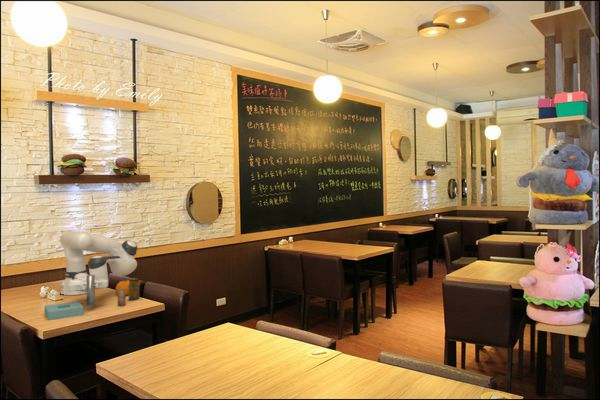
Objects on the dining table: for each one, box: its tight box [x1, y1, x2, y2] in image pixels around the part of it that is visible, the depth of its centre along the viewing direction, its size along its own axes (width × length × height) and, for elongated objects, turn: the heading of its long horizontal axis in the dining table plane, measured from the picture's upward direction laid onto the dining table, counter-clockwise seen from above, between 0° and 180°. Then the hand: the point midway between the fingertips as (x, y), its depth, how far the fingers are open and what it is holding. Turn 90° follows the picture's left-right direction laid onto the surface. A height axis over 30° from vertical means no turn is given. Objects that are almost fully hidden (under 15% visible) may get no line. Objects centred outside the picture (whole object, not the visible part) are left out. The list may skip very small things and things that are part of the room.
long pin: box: [86, 274, 96, 307], centre depth 239 cm, size 4×4×16 cm
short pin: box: [117, 289, 126, 307], centre depth 249 cm, size 4×4×9 cm
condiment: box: [125, 277, 143, 302], centre depth 263 cm, size 7×8×12 cm
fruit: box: [115, 278, 129, 297], centre depth 275 cm, size 12×12×10 cm
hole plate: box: [44, 300, 85, 321], centre depth 232 cm, size 16×16×4 cm
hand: (91, 287), depth 238 cm, fingers closed on long pin, 4 cm apart
